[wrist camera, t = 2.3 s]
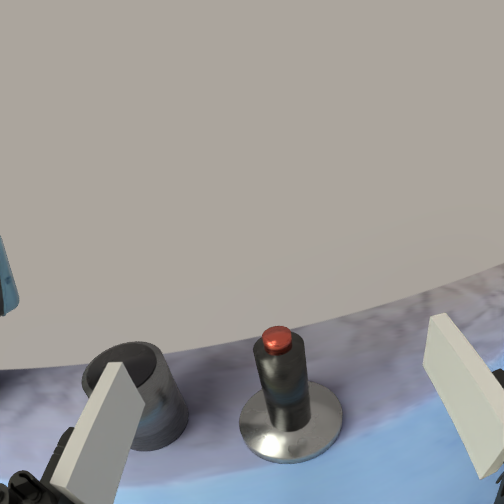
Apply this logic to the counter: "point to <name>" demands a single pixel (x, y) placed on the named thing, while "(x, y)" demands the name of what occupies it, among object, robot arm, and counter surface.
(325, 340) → the counter surface
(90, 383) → the pot
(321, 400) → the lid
